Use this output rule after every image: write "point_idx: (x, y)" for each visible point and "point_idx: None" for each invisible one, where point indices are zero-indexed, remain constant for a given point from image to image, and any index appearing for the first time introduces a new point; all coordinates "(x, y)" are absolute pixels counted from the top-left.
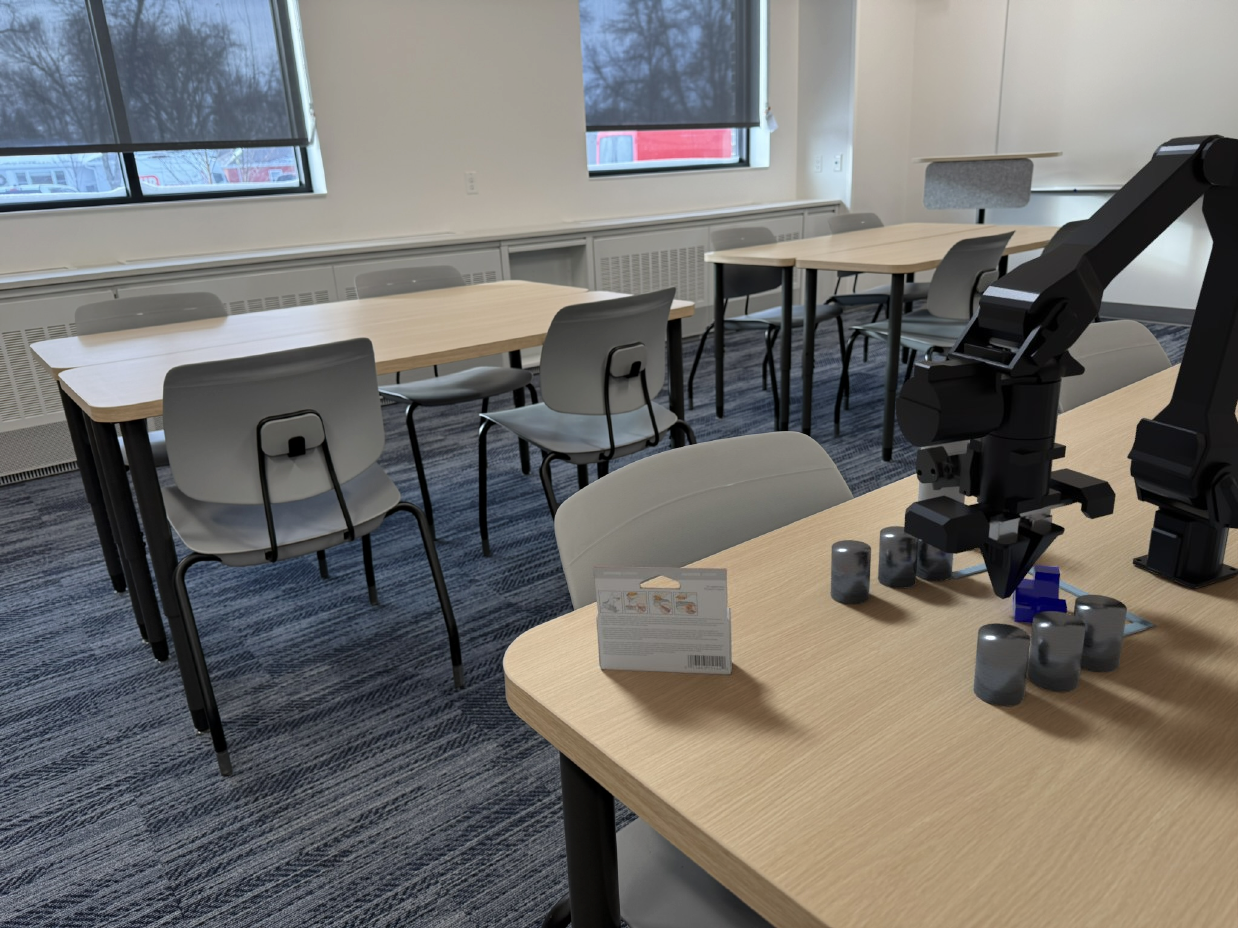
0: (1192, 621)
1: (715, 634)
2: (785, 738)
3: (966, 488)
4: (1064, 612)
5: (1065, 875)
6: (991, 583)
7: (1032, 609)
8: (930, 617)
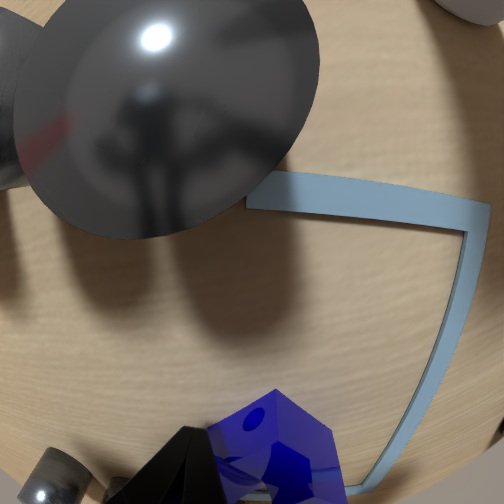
0: (414, 483)
1: None
2: None
3: None
4: None
5: None
6: (165, 445)
7: (220, 471)
8: (52, 330)
